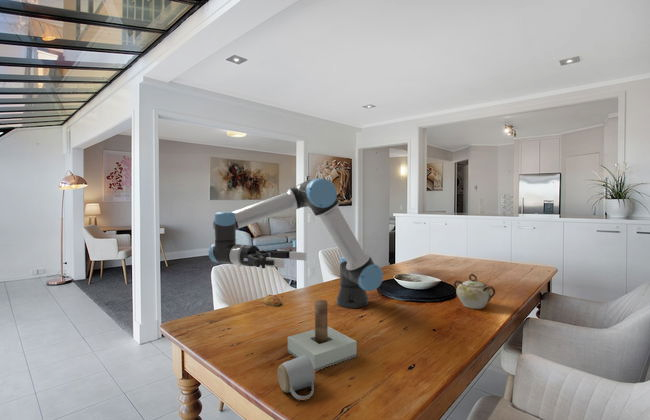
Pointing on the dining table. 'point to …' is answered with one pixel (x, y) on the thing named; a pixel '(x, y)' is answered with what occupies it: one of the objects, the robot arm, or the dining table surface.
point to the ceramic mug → (296, 376)
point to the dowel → (321, 322)
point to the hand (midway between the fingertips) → (295, 259)
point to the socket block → (323, 348)
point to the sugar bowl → (473, 293)
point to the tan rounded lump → (272, 300)
